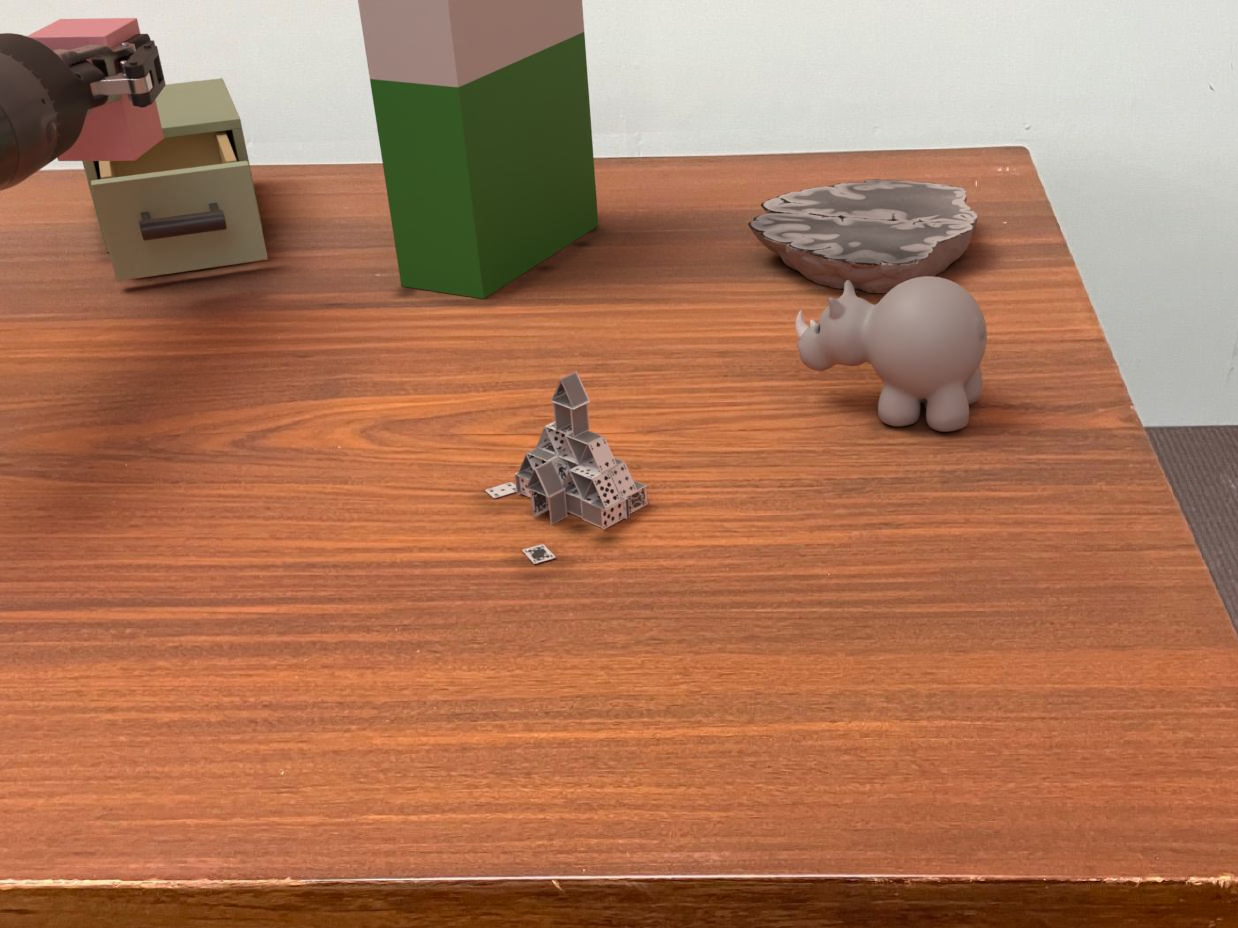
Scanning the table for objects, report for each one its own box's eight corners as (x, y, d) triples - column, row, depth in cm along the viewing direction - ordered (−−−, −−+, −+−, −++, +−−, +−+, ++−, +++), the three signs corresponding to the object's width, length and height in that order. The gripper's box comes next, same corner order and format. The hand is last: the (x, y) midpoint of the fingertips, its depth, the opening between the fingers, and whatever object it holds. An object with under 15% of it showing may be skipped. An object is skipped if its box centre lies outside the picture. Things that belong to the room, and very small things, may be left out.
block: (57, 161, 104) (24, 36, 100) (90, 139, 109) (59, 18, 104) (135, 161, 104) (105, 35, 99) (164, 138, 108) (137, 17, 104)
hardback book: (521, 215, 129) (489, -103, 115) (598, 225, 126) (574, -100, 112) (401, 286, 116) (348, -63, 102) (483, 298, 113) (440, -58, 99)
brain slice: (784, 210, 128) (784, 173, 126) (988, 222, 124) (991, 184, 122) (722, 293, 112) (721, 253, 111) (951, 310, 108) (954, 269, 107)
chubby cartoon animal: (815, 373, 100) (817, 245, 95) (994, 398, 96) (1005, 266, 91) (776, 417, 95) (775, 285, 90) (964, 446, 91) (973, 309, 86)
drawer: (274, 276, 116) (255, 179, 112) (119, 299, 113) (92, 201, 109) (249, 209, 129) (230, 120, 125) (109, 228, 126) (86, 138, 122)
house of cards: (430, 516, 86) (411, 390, 81) (543, 461, 91) (530, 339, 87) (540, 567, 81) (526, 435, 76) (652, 506, 86) (645, 379, 82)
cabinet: (263, 230, 128) (240, 118, 122) (106, 252, 124) (76, 138, 119) (244, 182, 139) (222, 77, 134) (100, 201, 136) (72, 94, 130)
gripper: (92, 47, 89) (193, -11, 102) (-143, 50, 90) (-12, -8, 103) (125, 178, 93) (217, 105, 107) (-100, 179, 94) (20, 107, 108)
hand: (104, 50), depth 105 cm, fingers closed on block, 5 cm apart
